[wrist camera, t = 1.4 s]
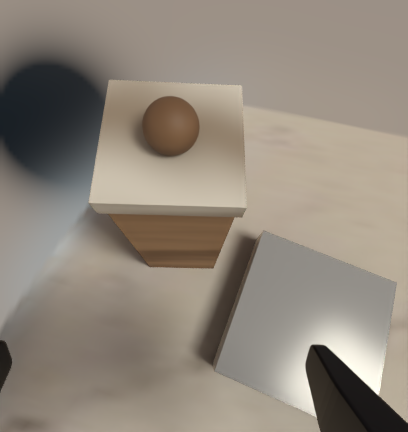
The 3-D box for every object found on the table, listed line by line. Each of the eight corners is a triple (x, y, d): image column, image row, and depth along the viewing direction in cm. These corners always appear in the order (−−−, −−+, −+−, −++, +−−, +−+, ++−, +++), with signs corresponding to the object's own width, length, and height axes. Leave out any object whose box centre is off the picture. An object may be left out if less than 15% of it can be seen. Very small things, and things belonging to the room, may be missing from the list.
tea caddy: (215, 270, 22) (257, 185, 8) (147, 269, 22) (67, 179, 8) (215, 207, 24) (249, 48, 10) (152, 205, 24) (95, 41, 10)
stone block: (345, 424, 20) (371, 441, 17) (211, 364, 21) (214, 371, 18) (371, 287, 23) (396, 282, 20) (255, 241, 24) (263, 230, 21)
